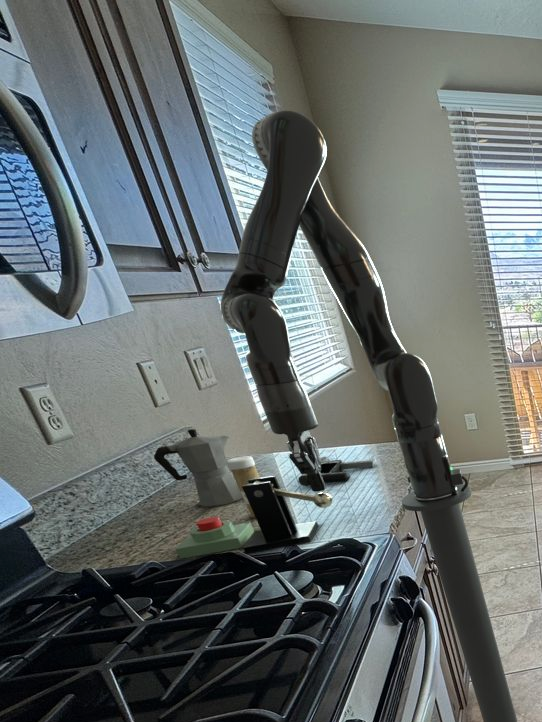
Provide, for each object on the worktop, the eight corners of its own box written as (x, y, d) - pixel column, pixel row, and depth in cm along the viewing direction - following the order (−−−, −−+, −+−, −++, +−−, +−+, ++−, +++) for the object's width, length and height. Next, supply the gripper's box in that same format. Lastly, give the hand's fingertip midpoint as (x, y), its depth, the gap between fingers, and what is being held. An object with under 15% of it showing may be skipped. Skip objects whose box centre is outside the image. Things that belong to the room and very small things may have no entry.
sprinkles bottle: (256, 519, 127) (231, 462, 122) (247, 516, 129) (222, 460, 124) (278, 512, 131) (255, 456, 125) (269, 509, 133) (245, 454, 127)
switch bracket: (318, 526, 122) (296, 469, 116) (310, 541, 115) (286, 482, 109) (257, 536, 118) (232, 479, 113) (245, 553, 111) (217, 492, 105)
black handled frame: (376, 452, 166) (312, 456, 161) (361, 471, 149) (290, 477, 144) (378, 462, 167) (316, 467, 162) (364, 483, 150) (294, 489, 145)
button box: (254, 531, 121) (246, 514, 119) (242, 547, 113) (233, 529, 112) (196, 541, 117) (188, 524, 116) (180, 559, 110) (170, 540, 108)
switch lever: (332, 506, 119) (334, 492, 118) (329, 511, 116) (332, 497, 116) (254, 492, 113) (257, 477, 112) (250, 497, 110) (252, 482, 109)
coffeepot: (240, 489, 148) (210, 421, 140) (263, 492, 144) (233, 423, 137) (170, 511, 135) (133, 437, 127) (193, 515, 132) (157, 440, 124)
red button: (225, 523, 116) (221, 515, 115) (219, 529, 113) (215, 521, 112) (203, 527, 115) (199, 519, 114) (197, 533, 112) (193, 525, 111)
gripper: (303, 409, 104) (335, 496, 112) (316, 397, 115) (345, 477, 122) (254, 415, 101) (291, 504, 109) (272, 402, 112) (304, 484, 120)
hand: (319, 490), depth 116 cm, fingers closed
